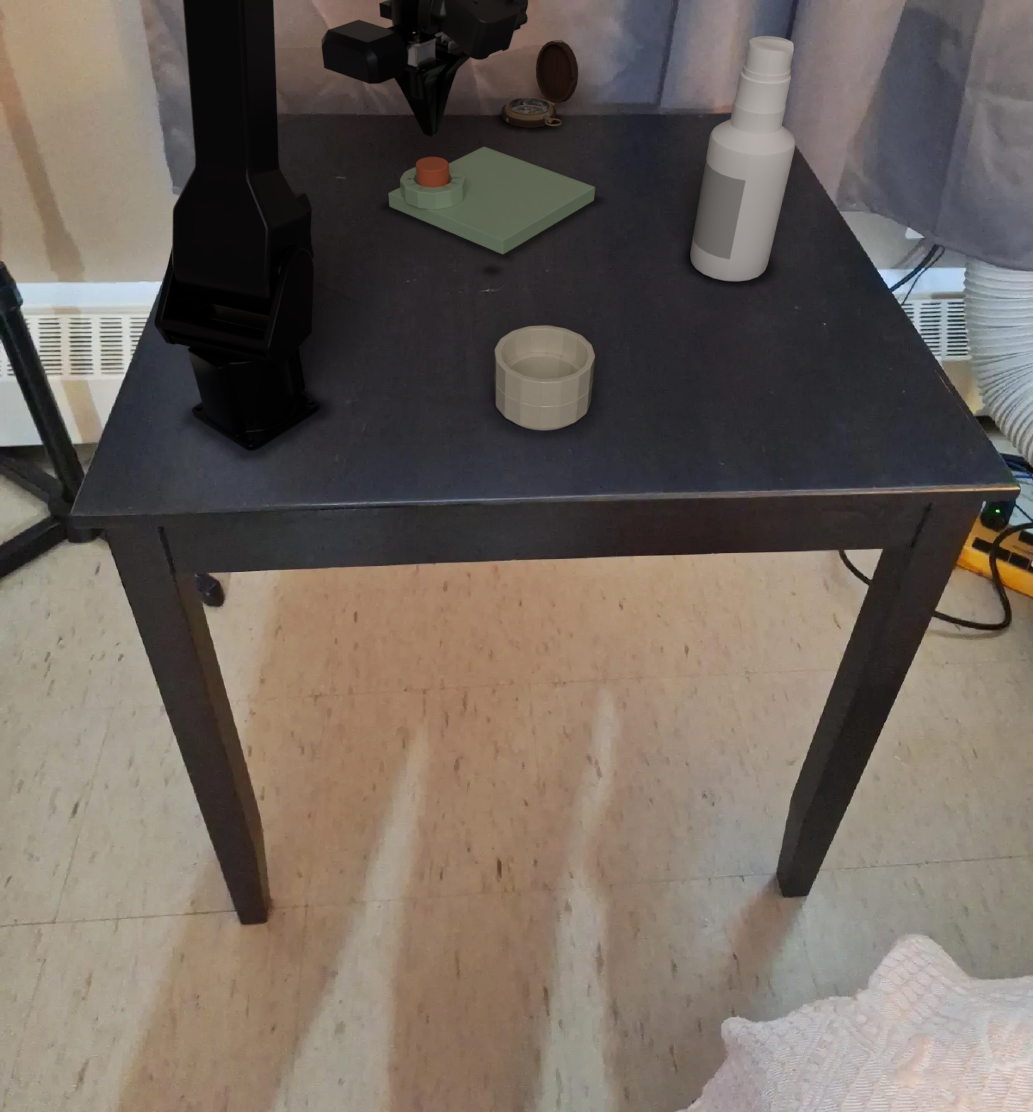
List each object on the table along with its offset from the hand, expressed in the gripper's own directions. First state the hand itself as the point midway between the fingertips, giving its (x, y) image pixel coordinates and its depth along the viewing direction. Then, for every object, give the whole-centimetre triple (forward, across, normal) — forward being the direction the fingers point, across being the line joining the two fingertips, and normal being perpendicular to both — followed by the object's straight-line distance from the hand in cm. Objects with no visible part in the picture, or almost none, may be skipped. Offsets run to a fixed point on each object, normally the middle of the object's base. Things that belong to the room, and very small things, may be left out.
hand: (430, 134), depth 84 cm
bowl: (+7, -18, -26) cm, 32 cm away
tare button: (+4, 0, 0) cm, 4 cm away
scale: (+7, +5, -4) cm, 9 cm away
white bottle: (+7, +10, -26) cm, 29 cm away
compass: (+7, +24, +6) cm, 25 cm away
